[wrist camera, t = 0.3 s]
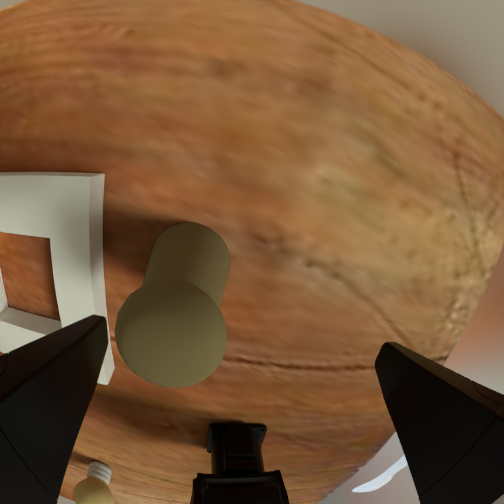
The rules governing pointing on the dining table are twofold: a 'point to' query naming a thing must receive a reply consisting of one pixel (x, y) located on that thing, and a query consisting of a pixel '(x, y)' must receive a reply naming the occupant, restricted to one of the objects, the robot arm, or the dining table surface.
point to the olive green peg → (177, 309)
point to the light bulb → (94, 486)
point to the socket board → (57, 250)
